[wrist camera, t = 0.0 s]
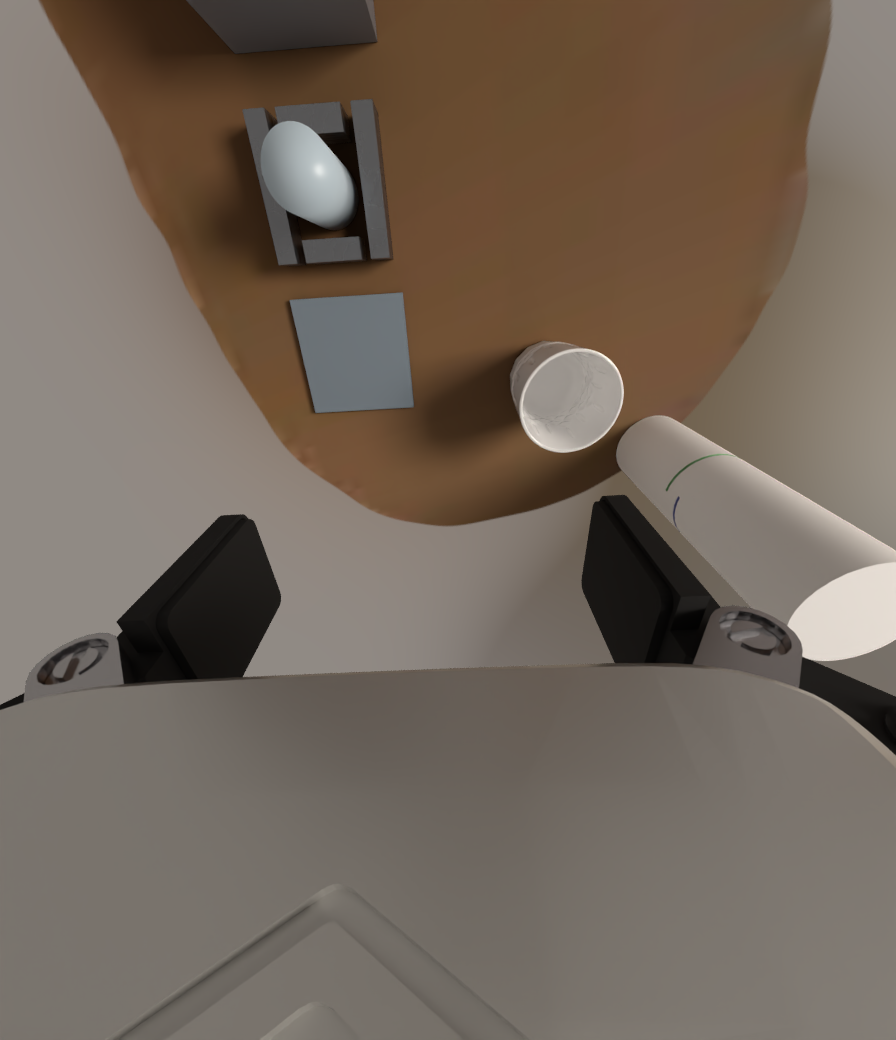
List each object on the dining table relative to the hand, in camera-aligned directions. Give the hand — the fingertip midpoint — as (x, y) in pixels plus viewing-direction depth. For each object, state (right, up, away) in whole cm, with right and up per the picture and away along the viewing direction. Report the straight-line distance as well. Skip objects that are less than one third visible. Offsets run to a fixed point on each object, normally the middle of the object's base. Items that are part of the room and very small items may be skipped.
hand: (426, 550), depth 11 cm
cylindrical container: (+22, +9, +32) cm, 40 cm away
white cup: (+10, +15, +28) cm, 33 cm away
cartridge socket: (-9, +27, +20) cm, 35 cm away
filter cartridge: (-9, +27, +20) cm, 35 cm away
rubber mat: (-8, +17, +26) cm, 32 cm away
